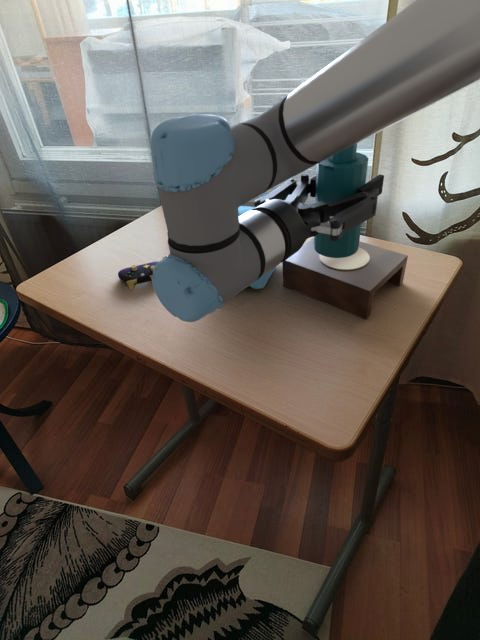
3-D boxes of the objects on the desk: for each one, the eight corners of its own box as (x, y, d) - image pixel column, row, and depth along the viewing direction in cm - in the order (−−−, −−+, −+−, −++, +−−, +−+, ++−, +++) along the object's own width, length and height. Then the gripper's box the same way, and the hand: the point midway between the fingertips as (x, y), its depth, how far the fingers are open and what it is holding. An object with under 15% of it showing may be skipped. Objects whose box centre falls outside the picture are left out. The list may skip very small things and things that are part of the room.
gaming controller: (162, 262, 92) (161, 253, 86) (168, 285, 91) (168, 279, 85) (117, 272, 90) (114, 264, 84) (124, 296, 89) (121, 290, 83)
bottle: (366, 244, 68) (381, 125, 57) (343, 262, 64) (354, 139, 53) (329, 233, 72) (335, 120, 61) (305, 250, 68) (308, 132, 57)
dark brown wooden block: (402, 283, 80) (408, 254, 77) (366, 319, 73) (370, 290, 69) (322, 256, 90) (323, 229, 87) (282, 285, 83) (282, 258, 79)
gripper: (210, 244, 60) (303, 190, 73) (332, 289, 49) (416, 216, 62) (203, 193, 56) (303, 145, 68) (336, 230, 44) (426, 165, 57)
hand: (357, 179), depth 65 cm, fingers closed on bottle, 7 cm apart
